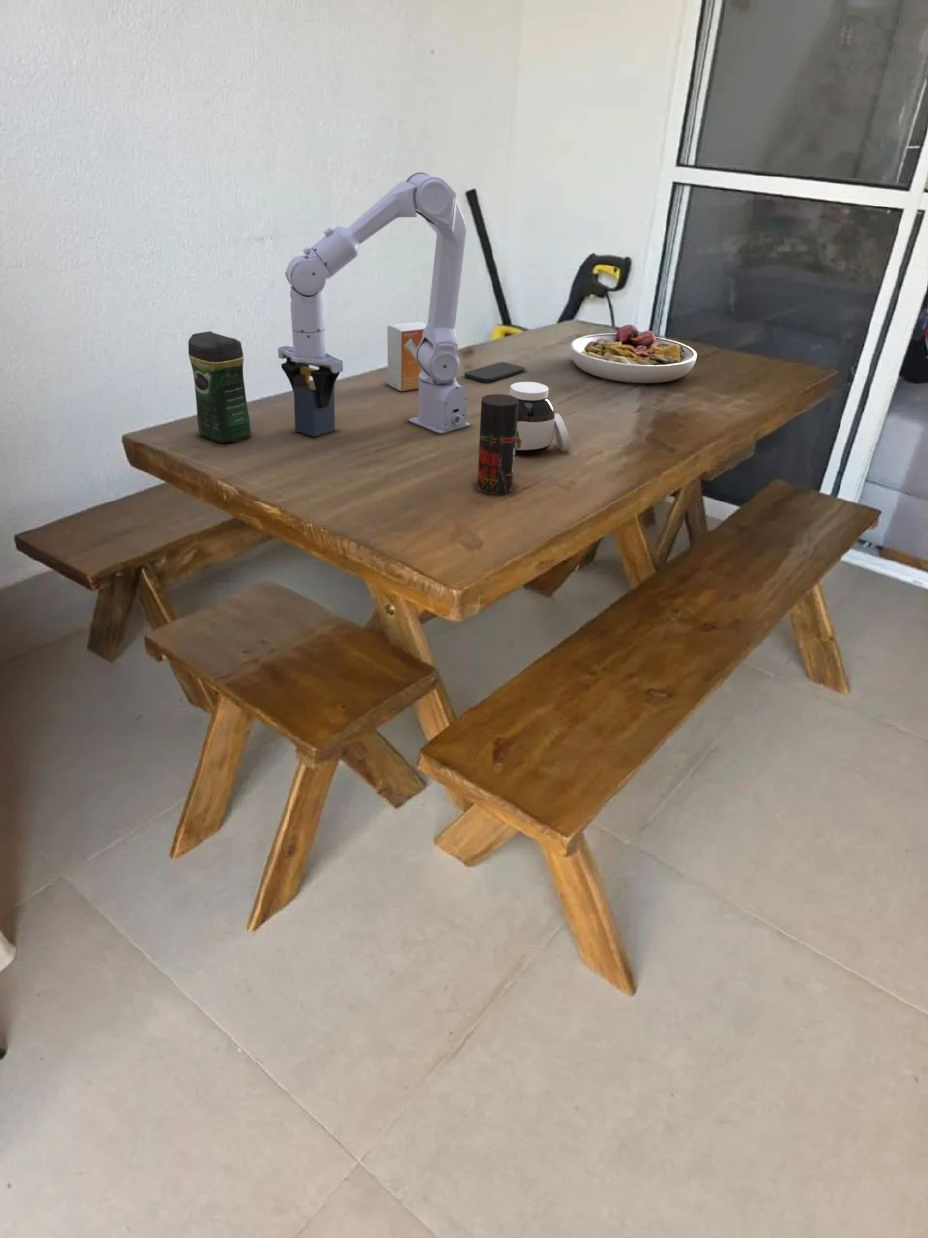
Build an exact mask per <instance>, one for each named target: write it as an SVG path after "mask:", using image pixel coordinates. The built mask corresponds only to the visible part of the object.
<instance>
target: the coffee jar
mask: <svg viewBox="0 0 928 1238" xmlns="http://www.w3.org/2000/svg"><path fill="white" fill-rule="evenodd" d="M187 342H188V343H187V345H188V346H187V347H188V358H189V361H190V365H191V368H192V373H193V374H192V375H193V383H194V391H195V402H196V403H195V404H196V417H197V418H196V419H197V427H198V433H199V434H200V435H201V436H202V437H204V438H206V439H207V440H210V441H212V442H216V443H219V444H220V443H221V444H223V443H238V442H242V441H243V440H245V439H247V438H248V437H250V436H251V434H252V429H251V421H250V415H249V414H250V413H249V408H248V401H247V395H246V387H245V380H244V361H245V360H244V359H245V357H244V351H243V347H242V342H241V341H240V340H238V339H237V338H234V337H229V336H226V335H222V334H219V333H215V332H214V331H212V330H210V331H203V332H202V331H201V332H197V333H193V334H192V335H191V336H190V337H189V339H188V341H187Z"/></svg>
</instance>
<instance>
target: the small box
mask: <svg viewBox="0 0 928 1238" xmlns="http://www.w3.org/2000/svg"><path fill="white" fill-rule="evenodd" d="M386 326H387V328H386V329H387V330H386V331H387V385H388V386H390V387H392V388H393V389H396V390H397V391H400V392H406V391H413V390H419V374H420V372H421V366H420V365H419V364H418V362H417V360H416V350H417V347H418V346H419V344H420V342H421V340H422V335H423V331H424V329H425V327H426V326H427V323H426V324H425V323H423V322H421V321H415V322H414V321H413V322H402V323H401V322H400V323H396V324H387V325H386Z"/></svg>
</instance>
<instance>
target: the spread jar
mask: <svg viewBox="0 0 928 1238" xmlns="http://www.w3.org/2000/svg"><path fill="white" fill-rule="evenodd" d="M509 388H510V390H509V395H510V396H513V397H516V398H517V399H518V400H519V404H518V418H517V432H516V446H515V455H517V456H524V457H525V456H526V457H532V456H537V455H540V454H541V453H543V452H545V451H546V450H547V449H549V448H550V447H551V445H552V443H553V439H554V440H555V443H556V445H557V447H558V448H559V450H560V451H561V452H564V451H566V450H570V447H571V441H570V437H569V433H568V429H567V427H566V424H565V422H564V419H563V418H562V416H561V415H560V414H559V413H555V409H554V406H553V405H552V403H551V401H550V400H549V398H548V396H549V387H548V386H547V385H545V384H543V383H540V382H534V381H518V382H514V383H512V384H511V385H510V387H509Z"/></svg>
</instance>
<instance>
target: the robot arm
mask: <svg viewBox="0 0 928 1238" xmlns="http://www.w3.org/2000/svg"><path fill="white" fill-rule="evenodd" d="M418 215H419V216H420V217H421V218H423V219H425V222H426V223H427V224H428V225H429V226H430V228H431V229H432V230H433V232H435V234H436V238H435V247H434V259H433V268H432V275H431V276H432V277H431V286H430V294H429V295H430V297H429V305H428V316H427V323H426V325H427V326H426V327H425V329H424V331H423V335H422V340H421V342H420V344H419V346H418V347H417V350H416V360H417V362H418V364H419V365H420V366H421V372H420V374H419V389H418V410H417V411H418V413H417V414H418V416H415V417H411V418H409V419H408V421H409V422H410V423H412V424H415V425H416V426H419V427H421V428H424V429H427V430H430V431H431V432H435V433H437V434H440V435H441V434H446V433H449V432H452V431H453V432H454V431H456V430H459V429H462V428H466V427H469V426H470V423H469V422H467V413H468V412H467V411H468V393H467V391H466V389H465V387H463V386H462V385H460V384H459V383H458V381H457V376H458V374H459V372H460V369H461V361H460V357H459V354H458V349H459V348H458V347H459V343H458V338H457V335H456V330H455V329H456V321H457V312H458V305H459V298H460V289H461V281H462V280H461V279H462V272H463V263H464V254H465V247H466V240H467V239H466V238H467V223H466V220H465V218H464V215H463V213H462V211H461V207H460V205H459V202H458V198H457V193H456V191H454V190H453V189H452V187H451V186H450V185H449V183H447V181H445V180H444V179H443V178H441V177H438V176H433V175H429V174H428V173H425V172H422V171H419V172H414V173H412V174H411V175H410V176H408V177H407V178H406V179H405V180H402V181H400V182H399V183H396V185H395V186H393V187H392V188H391V189H390V190H389V191H388V192H387V193H386V194H384V195H383V196H382V197H381V198H380V199H378V201H376V203H374V204H373V205H372V206H371V207H370V208H369V209H367V211H365V212H364V213H363V214H361V216H359V217H358V218H357V219H356V220H355V221H353V223H352V224H350V225H349V226H348V227H344V226H343V227H342V226H336V227H334V228H333V229H332V228H331V227H327V229H326V230H324V232H323V233H324V234H325V236H323V237H322V238H321V239H319V240H318V241H316V243H315V244H313V245H312V246H310V247H307V246H306V247H304V249H302V253H303V254H301V255H297V256H294V257H293V258H291V259H290V260H289V262H288V263H287V267H286V271H285V277H286V280H287V282H288V283H289V285H291V286H290V292H289V296H290V302H289V303H290V304H289V306H290V320H291V332H292V333H291V334H292V346H288V345H284V346H279V347H277V354H278V355H277V356H278V359H281V360H284V359H286V360H285V362H282V363H281V365H280V366H281V369H282V371H283V372H284V374H285V376H286V377H287V379H288V382H289V383H290V387H291V389H292V391H293V393H294V386H293V385H294V384H298V383H302V382H305V375H304V374H301V373H300V367H303V366H306V367H310V366H313V367H316V368H318V369H317V370H314V371H311V372H310V373H311V376H312V377H311V376H310V377H311V378H312V380H313V381H314V384H315V388H316V394H317V403H318V407H319V408H321V409H322V408H325V407H328V406H329V402H330V397H331V393H332V389H333V386H334V385H335V383H336V381H337V379H338V377H339V375H340V374H341V373H342V372H344V363H343V362H344V361H343V359H339V358H336V357H335V356H332V355H331V354H329V353H328V352H326V335H325V315H324V302H323V294H322V293H323V292H322V291H323V290H324V288H325V285H326V282H327V280H328V279H331V278H332V277H333V276H334V275H336V274H337V273H338V272H340V271H341V270H342V269H344V268H345V267H346V266H347V265H348V264H350V263H351V262H352V261H353V260H355V259H356V258H358V256H359V250H360V247H361V246H360V245H361V244H362V243H364V242H365V241H368V239H369V238H371V237H373V236H374V235H376V233H378V232H380V230H382V229H384V228H385V227H386V226H388V225H389V224H390V223H392V222H393V221H394V220H396V219H398V218H417V217H418Z"/></svg>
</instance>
